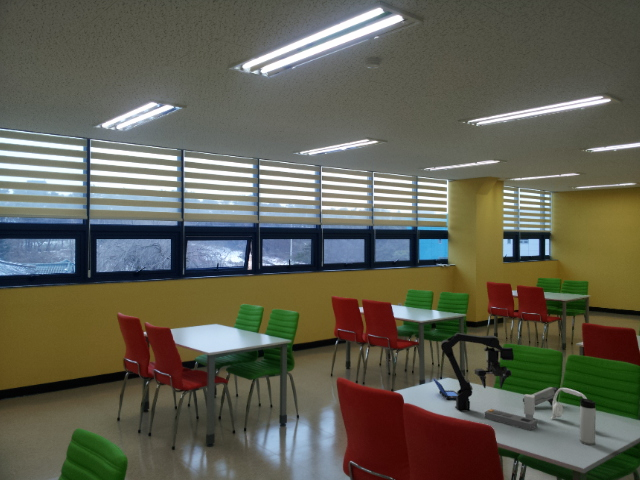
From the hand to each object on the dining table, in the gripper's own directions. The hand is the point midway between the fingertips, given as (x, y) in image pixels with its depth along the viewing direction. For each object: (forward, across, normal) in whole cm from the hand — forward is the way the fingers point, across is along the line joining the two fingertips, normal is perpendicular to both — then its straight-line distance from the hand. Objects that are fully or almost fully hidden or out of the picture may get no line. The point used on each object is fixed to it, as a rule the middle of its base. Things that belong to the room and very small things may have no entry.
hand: (492, 387), depth 269 cm
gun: (+13, +33, +8) cm, 36 cm away
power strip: (+13, +2, -16) cm, 21 cm away
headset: (+13, +32, -21) cm, 40 cm away
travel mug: (+13, +25, -44) cm, 52 cm away
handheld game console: (+13, -14, +29) cm, 35 cm away
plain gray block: (+13, +15, -11) cm, 23 cm away
